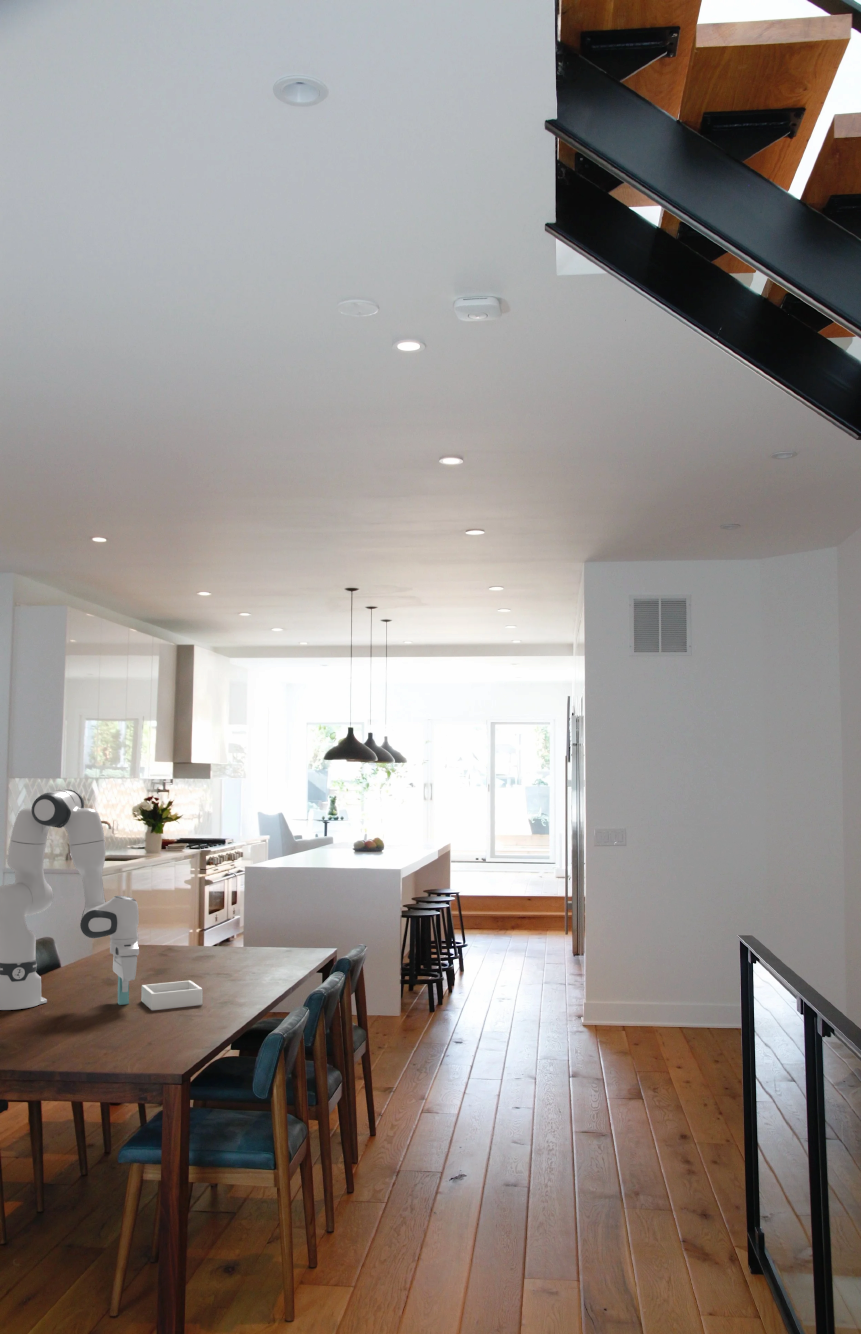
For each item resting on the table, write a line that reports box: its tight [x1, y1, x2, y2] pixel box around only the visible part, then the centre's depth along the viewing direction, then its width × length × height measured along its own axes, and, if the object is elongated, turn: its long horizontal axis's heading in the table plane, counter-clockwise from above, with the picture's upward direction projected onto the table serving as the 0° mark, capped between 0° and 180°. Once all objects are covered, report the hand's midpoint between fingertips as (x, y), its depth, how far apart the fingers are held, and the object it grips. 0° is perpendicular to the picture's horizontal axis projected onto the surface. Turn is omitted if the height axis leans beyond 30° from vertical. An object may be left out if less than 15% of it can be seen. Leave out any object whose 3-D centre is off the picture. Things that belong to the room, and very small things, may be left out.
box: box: [140, 980, 204, 1011], centre depth 335 cm, size 16×16×5 cm
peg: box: [117, 975, 130, 1006], centre depth 335 cm, size 3×3×10 cm
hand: (123, 990), depth 335 cm, fingers open, 3 cm apart
